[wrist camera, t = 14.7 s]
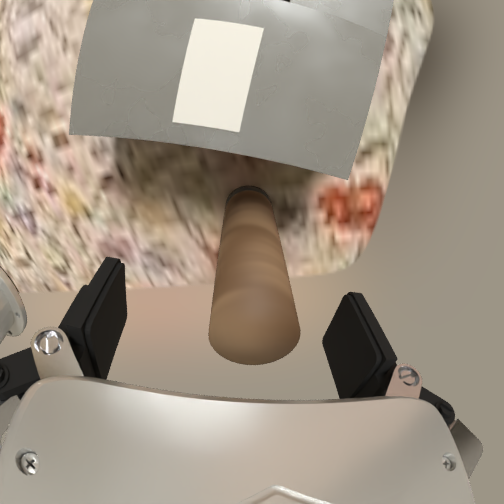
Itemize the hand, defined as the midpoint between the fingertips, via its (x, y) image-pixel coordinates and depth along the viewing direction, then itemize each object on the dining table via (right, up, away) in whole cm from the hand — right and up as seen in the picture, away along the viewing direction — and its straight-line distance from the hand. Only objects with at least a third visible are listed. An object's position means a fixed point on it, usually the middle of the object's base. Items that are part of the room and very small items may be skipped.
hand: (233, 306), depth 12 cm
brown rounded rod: (+1, +5, +9) cm, 10 cm away
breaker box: (0, +17, +2) cm, 17 cm away
